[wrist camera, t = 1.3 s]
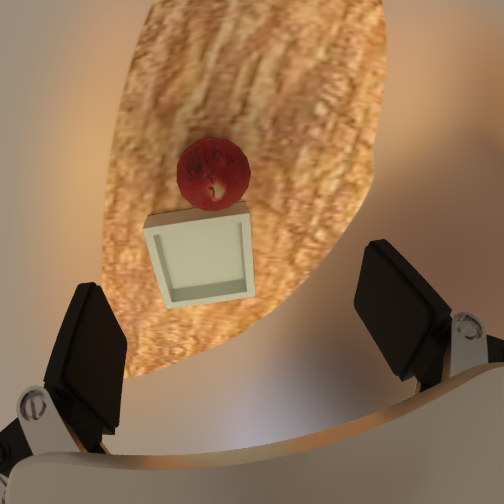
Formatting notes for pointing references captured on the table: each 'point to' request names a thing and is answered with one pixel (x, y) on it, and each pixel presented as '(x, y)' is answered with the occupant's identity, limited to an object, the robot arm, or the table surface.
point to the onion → (213, 174)
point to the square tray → (201, 255)
